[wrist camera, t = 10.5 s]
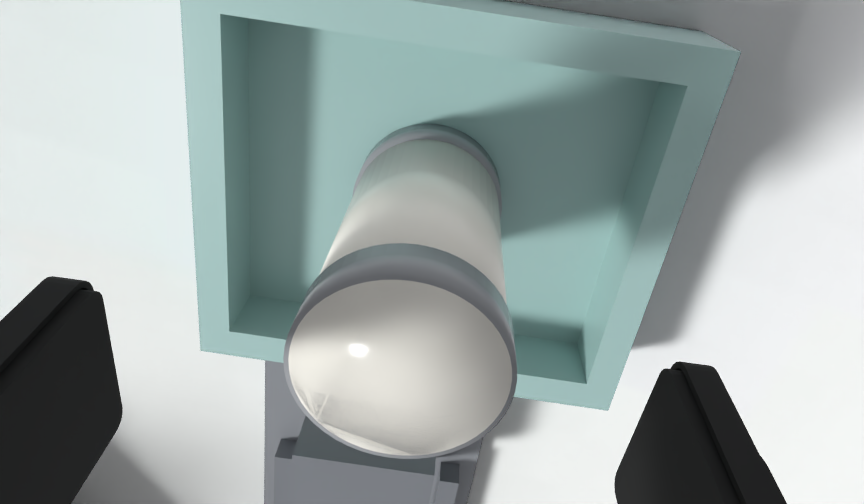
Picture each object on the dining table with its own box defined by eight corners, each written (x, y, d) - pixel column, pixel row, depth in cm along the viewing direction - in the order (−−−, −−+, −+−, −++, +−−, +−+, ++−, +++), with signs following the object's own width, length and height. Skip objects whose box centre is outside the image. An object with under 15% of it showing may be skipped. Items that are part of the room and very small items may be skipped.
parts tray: (222, -44, 18) (178, -36, 15) (701, 31, 18) (741, 51, 15) (231, 301, 24) (200, 351, 21) (593, 355, 24) (608, 410, 21)
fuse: (364, 113, 19) (285, 257, 11) (513, 135, 19) (541, 295, 11) (353, 244, 21) (281, 442, 13) (486, 263, 21) (493, 472, 13)
